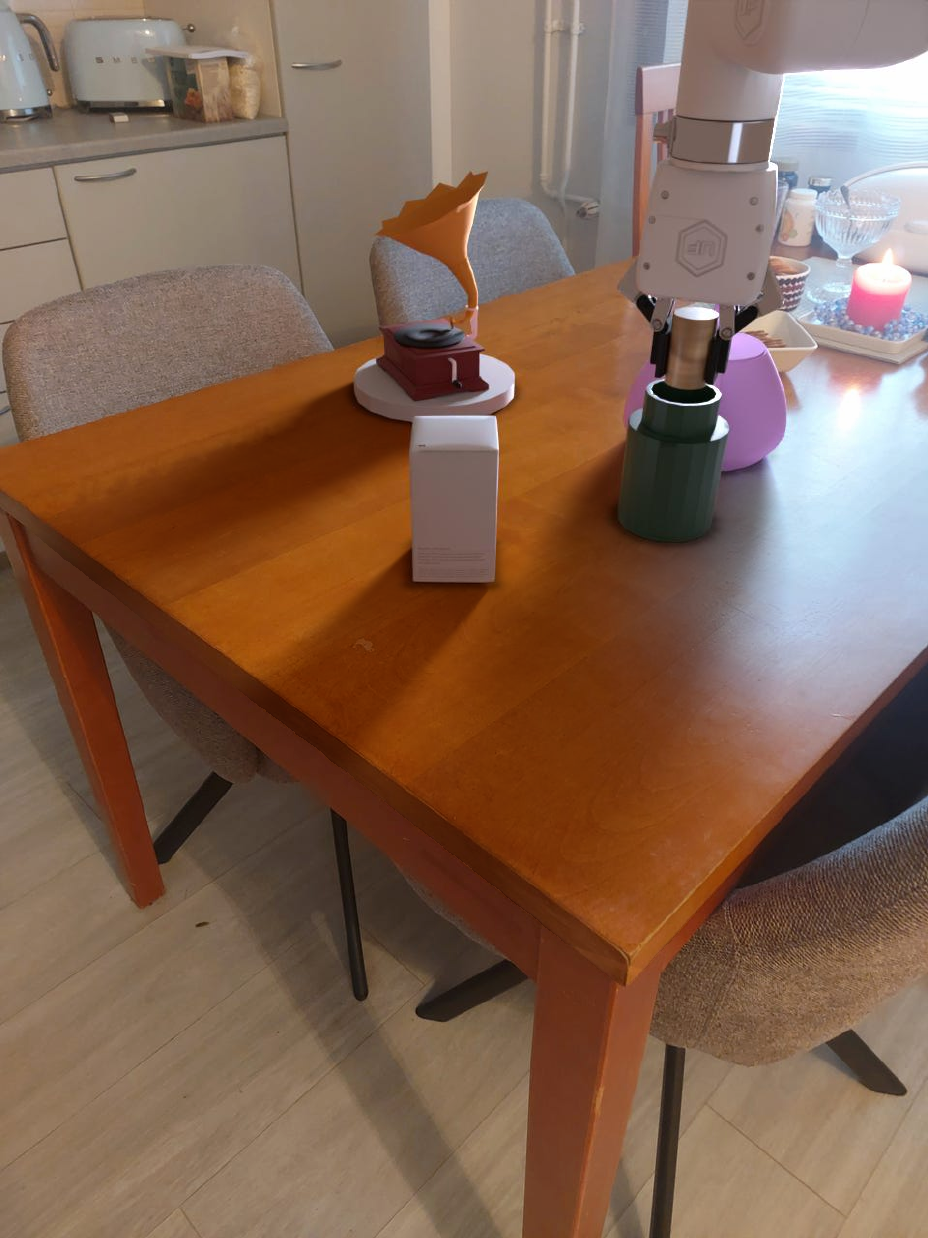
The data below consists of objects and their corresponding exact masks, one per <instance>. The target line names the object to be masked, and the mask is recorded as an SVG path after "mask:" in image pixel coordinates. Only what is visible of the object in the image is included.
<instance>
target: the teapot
mask: <svg viewBox="0 0 928 1238" xmlns="http://www.w3.org/2000/svg"><path fill="white" fill-rule="evenodd" d="M713 311H715V312H717V313H718V314H719V304H714V307H713ZM718 327H719V318H718V324H717V329H718ZM716 332H717V330H716ZM655 368H656V365H654V364H650V357H649V358H648V359H647V360H646V362H645V363H644V364H643V365H642V368H641V369H640V370H639V372H638V373H637V375H636V377H635V378H634V381H633V383H632V384H631V387H630V389H629V391H628V393H627V397H626V400H625V404H624V408H623V415H622V422H623V426H624V429H625V431H626V432H627V426H628V419H629V417H630V415H631V414H632V413H633V412H634V411H636V410H638V409H640V408H643V403H644V396H645V389H646V387H647V386H648V384H650V383H652V382H654V381H656V380H661V379H664V376H665V375H664V376H663V377H661V378H655ZM712 386H714V387H716V388H718V389H719V391H720V392H721V394H722V396H721V402H720V408H719V413H718V415H719V416H721V417H722V418H723V419H725V420H726V421H727V423H728V425H729V428H730V429H729V434H728V440H727V445H726V450H725V456H724V461H723V466H722V471H721V472H729V471H730V472H731V471H736V470H740V469H746V468H748V467H750V466H753V465H755V464H756V463H758V462H759V461H761V460H762V459H764V458H765V457H767V456H768V455H769V454H771V453H772V452H773V451H774V450H775V449H776V448H777V447H779V445H780V444H781V443H782V441H783V439H784V437H785V431H786V427H787V414H788V412H787V400H786V395H785V394H786V393H785V389H784V385H783V382H782V380H781V376H780V374H779V372H778V368H777V366H776V364H775V362H774V359H773V356H772V355H771V352H770V351H769V349H768V347H767V345H765V343H764V342H762V341H761V340H760V339H759V338H757V337H755V336H753V335H750V334H748V333H744V332H741V331H739V332H738V333H737V334H735V335H734V336H733V337H732V342H731V347H730V353H729V359H728V364H727V369H726V372H725V374H723V373H718V376H717V378H716V381H715V383H714V385H712Z"/></svg>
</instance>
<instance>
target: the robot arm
mask: <svg viewBox="0 0 928 1238" xmlns="http://www.w3.org/2000/svg"><path fill="white" fill-rule="evenodd" d="M683 35H684V36H683V37H684V38H683V44H682V51H681V59H680V60H681V61H680V69H679V75H678V76H679V77H678V85H677V92H676V93H677V94H676V103H675V111H674V113H675V114H674V115H673V116H672V118H670V120H669V121H668V120H667V121H665V122H656V123H655V124H654V128H653V134H652V141H653V143H662V145H665V146H666V149H668V153H667V154H668V155H669V157H667V158H664V159H662V160H660V161H658V163H657V166H656V169H655V172H654V176H653V179H652V183H651V188H650V192H649V196H648V201H647V205H646V210H645V216H644V220H643V224H642V225H643V226H642V232H641V237H640V245H639V249H638V250H639V251H638V256H637V257H636V258H635V260H634V262H633V263H632V264H631V265H630V267H629V268H628V269H627V271H625V274H624V275H623V276H622V278H620V280H619V281H618V283H617V286H616V289H617V291H618V292H619V293H620V294H622V295H623V296H624V297H625V298H626V299H628V300H629V301H630V302H631V303H633V304H634V305H635V306H636V307H637V309H638V310H639V312H640V313H641V314H642V316H643V317H644V318H645V319H646V320H647V322H648V324H649V327H650V329H651V331H653V332H652V342H651V348H650V349H651V350H650V356H649V358H650V364H654V365H656V368H655V378H661V377H663V376H664V375H665V369H666V362H667V355H668V347H669V340H670V332H671V324H672V317H671V316H672V314H673V311H674V310H673V309H674V306H675V303H676V301H685V302H693V303H702V304H710V305H711V304H712V305H715V304H719V327H718V329H717V332H716V335H715V336H714V337H713V339H712V343H711V349H710V355H709V361H708V367H707V373H706V380H705V383H707V385H714V383H715V381H716V378H717V376H718V373H723V374H725V372H726V369H727V364H728V359H729V353H730V347H731V342H732V337H733V336H734V335H735V334H737V333H738V332H741V331H742V330H743V329H745V328H746V327H747V326H749V325H750V324H751V323H753V322H755V320H757V319H759V318H762V317H764V316H767V315H769V314H771V313H774V312H776V311H778V310H780V309H781V308H782V307H783V305H784V303H785V299H786V297H785V295H784V293H783V290H782V288H781V284H780V283H779V280H778V277H777V274H776V273H775V270H774V268H773V265H772V262H771V261H770V260H771V252H772V246H773V245H772V244H773V239H774V231H775V230H774V229H775V223H776V213H777V201H778V165H777V164H775V163H773V162H770V161H771V155H772V149H773V143H774V139H775V133H776V127H777V121H778V115H779V112H780V111H779V110H780V104H781V99H782V95H783V88H784V82H785V77H786V75H787V76H788V75H791V76H792V75H810V74H811V75H813V74H820V73H835V72H838V73H839V72H867V71H879V70H880V71H881V70H885V69H888V68H889V69H890V68H892V67H897V66H899V65H902V64H904V63H907V62H909V61H912V60H913V59H915V58H917V57H920V56H921V55H924V54H925V53H927V52H928V0H688V3H687V10H686V20H685V27H684V34H683ZM760 294H762V297H760V298H758V297H759V296H760ZM740 306H743V307H741V308H740Z"/></svg>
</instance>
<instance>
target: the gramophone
mask: <svg viewBox="0 0 928 1238" xmlns="http://www.w3.org/2000/svg"><path fill="white" fill-rule="evenodd" d="M488 174H489V171H485V172H480V173H478V174H473V172H472V170H471V171H469V172H468V174H467V175H466V176H465V177H464V178H463V179H462V181H461V182H460V183H458V185H457V186H456V187H455V186H452V185H449V184H445V183H442V182H438V184H437V185H436V186H435V187H434V188H433V189H432V190H431V191H430V192H429V194H428V195H427V196H426V197H425V198H422V199H412V200H406V201H405V203H403V204H404V205H403V206H402V208H401V211H400V212H399V214H398V216H396V217H395V216H394V217H391V218H388V219H384V220H381V226H382V229H380V230H379V231H377V232H376V233H375V234H374V236H380V237H385V238H389V239H391V240H394V241H395V242H398V243H399V244H401V245H404V246H406V247H408V248H409V249H411V250H414V251H416V252H419V253H420V254H423V255H426V256H429V257H431V258H433V259H434V260H437V261H439V262H440V263H442V264H443V265H445V267H447V269H448V270H449V271H450V272H451V273H452V275H453V276H454V277H455V278H456V280H457V281H458V283H459V284H460V286H461V288H462V289H463V290H464V292H465V293H466V295H467V305H465V306H464V309H465V313H464V316H463V317H462V318H460V319H457V320H455V319H454V316H453V315H450V317H449V321H448V320H447V319H446V318H437V319H428V320H421V321H413V322H405V323H396V324H390V325H389V324H388V325H382V326H381V325H380V326H378V330H379V331H381V332H382V334H383V354H382V355H381V356H378V357H376V358H373V359H370V360H368V361H367V362H365V363H364V364H363V365H361V366H360V367H358V368H357V369H356V371H355V374H354V376H353V378H352V379H353V392H354V393H353V394H354V395H355V398H356V400H357V403H358V404H360V405H361V406H362V407H364V408H365V409H366V410H368V411H369V412H372V413H373V414H377V415H380V416H382V417H385V418H387V419H393V420H398V421H405V422H411V423H413V417H414V416H490V415H492V414H493V413H495V412H497V411H500V410H501V409H504V408H505V407H507V405H509V403H510V402H511V401H512V400H513V399H514V397H515V379H516V378H515V375H516V373H515V372H514V370H513V369H512V368H511V367H510V366H509V364H508V363H505V362H504V361H501V360H499V358H496V357H494V356H490V355H487V354H484V353H482V352H485V351H486V350H485V348H484V347H483V346H482V345H481V344H479V343H477V342H476V338H477V336H478V315H479V314H478V313H479V306H478V302H479V292H478V287H477V282H476V279H475V276H474V275H475V274H474V272H473V269H472V266H471V263H470V261H469V257H468V254H467V253H468V242H469V236H470V233H471V229H472V226H473V224H474V218H475V214H476V208H477V204H478V200H479V196H480V195H479V194H480V192H481V191H482V189H483V188H484V186H485V182H486V179H487V178H488ZM468 321H469V324H470V325H469V326H470V332H471V333H470V334H466V333H465V332H464V331H463V330H462V329H460V328H458V327H456V326H455V324H465V323H466V322H468Z"/></svg>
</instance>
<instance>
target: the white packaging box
mask: <svg viewBox="0 0 928 1238" xmlns="http://www.w3.org/2000/svg"><path fill="white" fill-rule="evenodd" d="M410 432H411V433H410V442H409V450H408V461H409V463H408V464H409V491H410V492H409V493H410V499H409V500H410V523H411V524H410V527H411V563H412V581H413V582H415V583H417V582H418V583H482V584H483V583H485V584H486V583H494V582H495V576H496V574H495V573H496V550H497V549H496V547H497V546H496V545H497V519H498V518H497V515H498V514H497V513H498V509H497V508H498V489H499V487H498V486H499V459H500V458H499V451H500V450H499V434H498V422H497V417H496V415H486V416H414V417H413V422H412V425H411V431H410Z"/></svg>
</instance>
